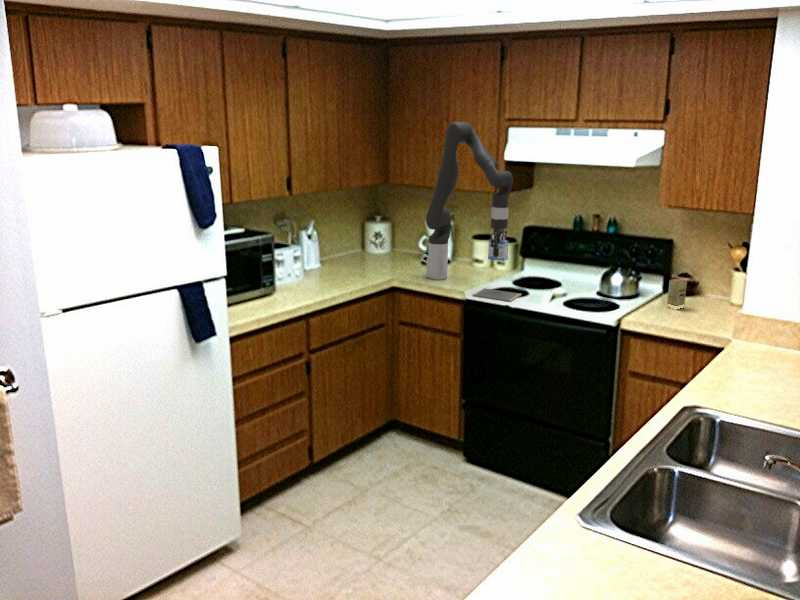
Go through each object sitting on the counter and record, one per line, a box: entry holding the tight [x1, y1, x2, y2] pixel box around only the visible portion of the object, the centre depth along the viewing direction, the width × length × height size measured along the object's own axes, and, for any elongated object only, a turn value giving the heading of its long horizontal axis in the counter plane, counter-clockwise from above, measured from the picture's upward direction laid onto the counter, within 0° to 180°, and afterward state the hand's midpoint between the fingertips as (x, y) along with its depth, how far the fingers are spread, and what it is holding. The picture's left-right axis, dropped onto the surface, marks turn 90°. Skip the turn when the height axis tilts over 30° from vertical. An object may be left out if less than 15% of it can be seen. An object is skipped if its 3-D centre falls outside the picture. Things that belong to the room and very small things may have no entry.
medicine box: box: [487, 239, 510, 262], centre depth 334 cm, size 8×4×9 cm, turn 62°
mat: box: [472, 287, 522, 303], centre depth 335 cm, size 18×13×1 cm
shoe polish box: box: [666, 278, 688, 306], centre depth 318 cm, size 5×5×12 cm
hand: (497, 255), depth 335 cm, fingers closed on medicine box, 4 cm apart
